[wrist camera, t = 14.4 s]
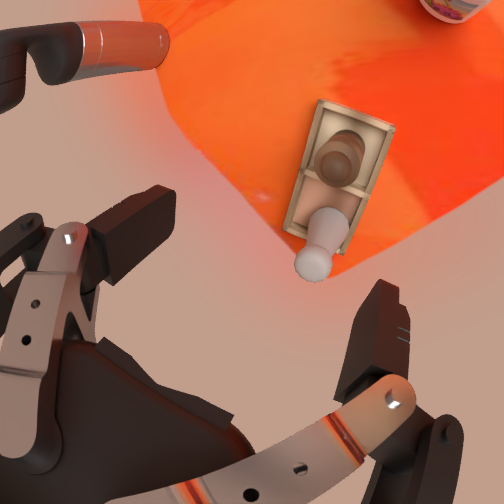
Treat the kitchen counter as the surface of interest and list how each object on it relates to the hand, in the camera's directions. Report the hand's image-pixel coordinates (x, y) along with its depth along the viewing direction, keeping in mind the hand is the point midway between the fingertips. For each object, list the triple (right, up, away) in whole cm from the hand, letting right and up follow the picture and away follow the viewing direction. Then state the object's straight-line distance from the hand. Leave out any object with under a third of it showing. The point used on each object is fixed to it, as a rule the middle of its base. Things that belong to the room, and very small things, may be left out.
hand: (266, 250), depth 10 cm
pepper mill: (+12, +14, +25) cm, 31 cm away
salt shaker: (+11, +5, +31) cm, 33 cm away
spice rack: (+12, +11, +28) cm, 32 cm away
